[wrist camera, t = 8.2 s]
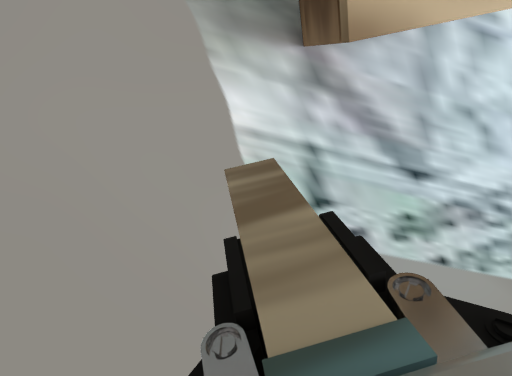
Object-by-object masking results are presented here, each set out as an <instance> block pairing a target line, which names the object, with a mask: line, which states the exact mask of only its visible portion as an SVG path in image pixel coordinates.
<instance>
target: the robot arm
mask: <svg viewBox="0 0 512 376" xmlns="http://www.w3.org/2000/svg"><path fill="white" fill-rule="evenodd" d="M319 218H320V219H321V221H322V222H323V223H324V224H325V226H326V227H327V228H328V230H329V231H330V232H331V234H332V235H333V236H334V238H335V239H336V240H337V241H338V243H339V244H340V245H341V247H342V248H343V249H344V251H345V252H346V253H347V255H348V256H349V257H350V258H351V260H352V261H353V262H354V264H355V265H356V266H357V268H358V269H359V270H360V271H361V273H362V274H363V275H364V277H365V278H366V279H367V281H368V282H369V283H370V285H371V286H372V287H373V288H374V290H375V291H376V292H377V294H378V295H379V296H380V298H381V299H382V300H383V301H384V303H385V304H386V305H387V307H388V308H389V309H390V311H391V312H392V313H393V315H394V316H395V317H396V318H397V320H399V319H402V318H406V317H407V319H408V320H409V321H410V322H411V323H412V325H413V326H414V327H415V328H416V330H417V331H418V332H419V333H420V335H421V336H422V337H423V338H424V340H425V341H426V342H427V343H428V344H429V346H430V347H431V348H432V349H433V351H434V352H435V353H436V354H437V356H438V357H437V364H435V365H432V366H429V367H426V368H422V369H419V370H416V371H413V372H409V373H406V374H403V375H400V376H512V315H511V314H508V313H505V312H501V311H498V310H494V309H490V308H486V307H483V306H479V305H475V304H472V303H468V302H464V301H461V300H457V299H453V298H450V297H446V296H443V295H442V294H441V293H440V292H439V290H438V289H437V288H436V287H435V286H434V284H433V283H432V282H430V281H429V280H428V279H426V278H425V277H423V276H420V275H417V274H413V273H399V274H396V273H395V272H394V270H392V268H391V267H390V266H389V265H388V264H387V263H386V262H385V261H384V260H383V258H381V256H380V255H379V254H378V253H377V252H376V251H375V250H374V249H373V248H372V247H371V245H370V244H369V243H368V242H367V241H366V240H365V239H364V238H363V237H362V236H356V237H355V236H354V235H353V233H352V232H351V231H350V230H349V229H348V228H347V227H346V226H345V224H344V223H343V222H342V221H341V220H340V219H339V218H338V216H337V215H336V214H335V213H334V212H333V211H330V212H327V213H323V214H320V215H319ZM224 246H225V254H226V261H227V268H228V271H226V272H222V273H218V274H214V275H212V286H213V303H214V319H215V327H214V328H212V329H211V330H210V331H209V332H208V333H207V334H206V335H205V337H204V338H203V341H202V343H201V357H202V359H201V361H200V362H199V363H198V364H197V366H196V367H195V368H194V369H193V371H192V372H191V373H190V374H189V376H265V373H264V368H263V364H262V360H263V359H267V358H268V355H267V351H266V346H265V342H264V338H263V333H262V329H261V325H260V321H259V316H258V312H257V308H256V303H255V299H254V295H253V291H252V286H251V282H250V278H249V273H248V269H247V265H246V261H245V256H244V252H243V248H242V244H241V239H237V237H236V236H234V237H230V238H226V239H224Z"/></svg>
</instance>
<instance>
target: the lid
mask: <svg viewBox="0 0 512 376" xmlns="http://www.w3.org/2000/svg"><path fill="white" fill-rule="evenodd" d="M339 2H340V21H341V40H342V43H346V42H353V41H357V40H362V39H367V38H372V37H377V36H381V35H386V34H391V33H396V32H400V31H405V30H410V29H415V28H420V27H424V26H429V25H434V24H439V23H443V22H448V21H453V20H458V19H463V18H467V17H472V16H477V15H482V14H486V13H491V12H496V11H501V10H506V9H510V8H512V0H339Z"/></svg>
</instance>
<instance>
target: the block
mask: <svg viewBox="0 0 512 376" xmlns="http://www.w3.org/2000/svg"><path fill="white" fill-rule="evenodd" d="M224 171H225V175H226V179H227V183H228V187H229V192H230V196H231V201H232V205H233V209H234V214H235V218H236V222H237V226H238V230H239V235H240V239H241V244H242V248H243V252H244V256H245V261H246V265H247V269H248V273H249V278H250V282H251V286H252V291H253V295H254V299H255V303H256V308H257V312H258V316H259V321H260V325H261V329H262V333H263V338H264V342H265V346H266V351H267V355H268V358H267V359H263V360H262V364H263V368H264V373H265V376H400V375H403V374H406V373H409V372H413V371H416V370H419V369H422V368H426V367H429V366H432V365H435V364H437V357H438V356H437V354H436V353H435V352H434V351H433V349H432V348H431V347H430V346H429V344H428V343H427V342H426V341H425V340H424V338H423V337H422V336H421V335H420V333H419V332H418V331H417V330H416V328H415V327H414V326H413V325H412V323H411V322H410V321H409V320H408V319H407V317H406V318H402V319H399V320H397V318H396V317H395V316H394V315H393V313H392V312H391V311H390V309H389V308H388V307H387V305H386V304H385V303H384V301H383V300H382V299H381V298H380V296H379V295H378V294H377V292H376V291H375V290H374V288H373V287H372V286H371V285H370V283H369V282H368V281H367V279H366V278H365V277H364V275H363V274H362V273H361V271H360V270H359V269H358V268H357V266H356V265H355V264H354V262H353V261H352V260H351V258H350V257H349V256H348V255H347V253H346V252H345V251H344V249H343V248H342V247H341V245H340V244H339V243H338V241H337V240H336V239H335V238H334V236H333V235H332V234H331V232H330V231H329V230H328V228H327V227H326V226H325V224H324V223H323V222H322V221H321V219H320V218H319V217H318V215H317V214H316V213H315V211H314V210H313V209H312V208H311V206H310V205H309V204H308V202H307V201H306V200H305V198H304V197H303V196H302V194H301V193H300V192H299V191H298V189H297V188H296V187H295V185H294V184H293V183H292V181H291V180H290V179H289V177H288V176H287V175H286V174H285V172H284V171H283V170H282V168H281V167H280V166H279V164H278V163H277V162H276V161H275V159H274V158H272V159H267V160H263V161H259V162H255V163H250V164H246V165H242V166H238V167H233V168H229V169H225V170H224Z"/></svg>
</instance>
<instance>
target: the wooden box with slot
mask: <svg viewBox="0 0 512 376" xmlns="http://www.w3.org/2000/svg"><path fill="white" fill-rule="evenodd" d="M299 5H300V15H301V25H302V34H303V44H304V46H315V45H325V44H336V43H342V40H341V21H340V2H339V0H299Z"/></svg>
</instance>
